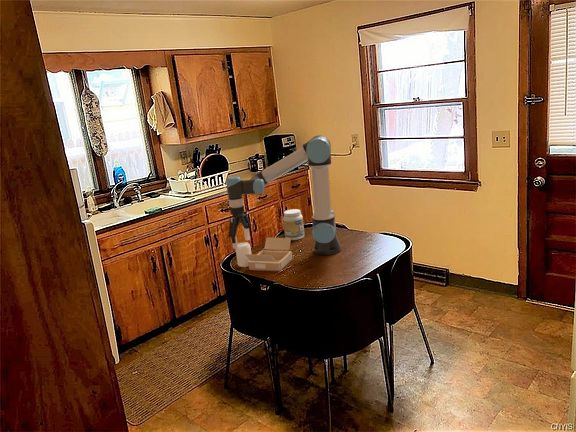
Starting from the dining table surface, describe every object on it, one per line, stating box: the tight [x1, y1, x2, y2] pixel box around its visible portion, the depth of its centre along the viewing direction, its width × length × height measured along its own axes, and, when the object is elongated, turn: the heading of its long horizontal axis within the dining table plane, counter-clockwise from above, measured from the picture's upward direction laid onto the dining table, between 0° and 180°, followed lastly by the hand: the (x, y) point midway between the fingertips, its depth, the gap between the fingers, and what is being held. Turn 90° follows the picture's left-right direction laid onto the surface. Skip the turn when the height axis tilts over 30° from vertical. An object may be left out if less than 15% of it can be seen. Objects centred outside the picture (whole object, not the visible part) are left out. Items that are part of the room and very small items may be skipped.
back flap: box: [263, 237, 292, 251], centre depth 257 cm, size 15×7×1 cm
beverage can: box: [235, 241, 252, 268], centre depth 252 cm, size 8×8×12 cm
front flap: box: [245, 253, 276, 262], centre depth 238 cm, size 15×7×1 cm
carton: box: [248, 249, 294, 273], centre depth 249 cm, size 19×17×4 cm
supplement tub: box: [282, 208, 305, 241], centre depth 287 cm, size 12×12×17 cm
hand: (241, 244), depth 250 cm, fingers open, 13 cm apart
